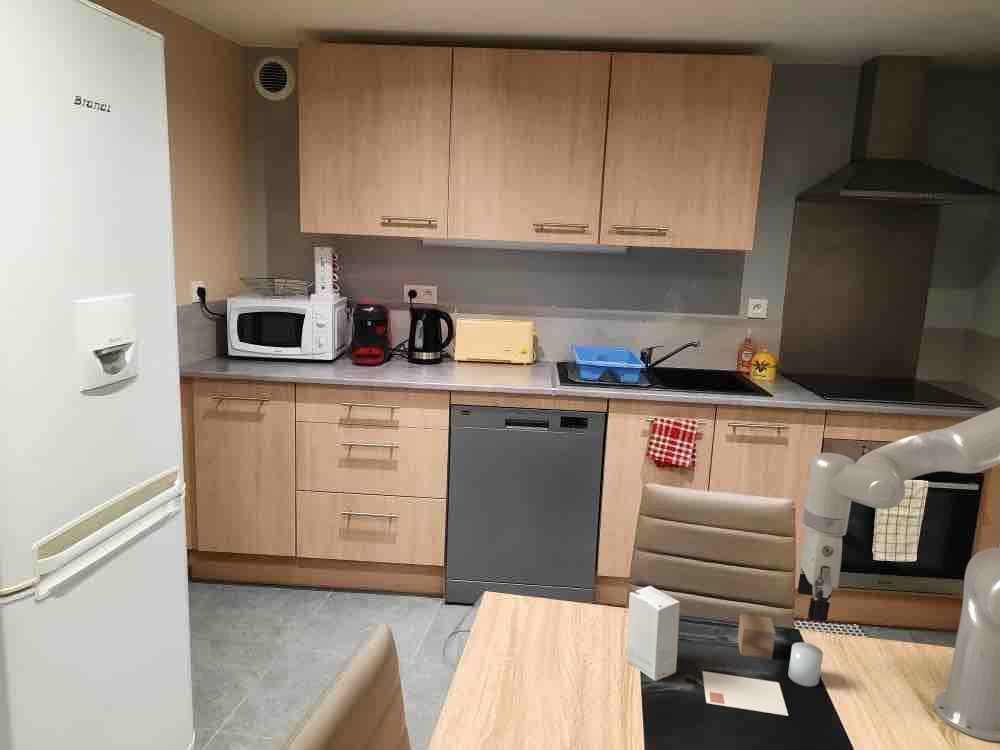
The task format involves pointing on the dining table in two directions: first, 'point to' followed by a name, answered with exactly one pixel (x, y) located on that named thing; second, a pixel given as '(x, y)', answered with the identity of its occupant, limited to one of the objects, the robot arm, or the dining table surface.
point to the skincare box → (653, 632)
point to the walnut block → (756, 636)
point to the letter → (744, 693)
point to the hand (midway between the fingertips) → (811, 606)
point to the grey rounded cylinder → (805, 664)
